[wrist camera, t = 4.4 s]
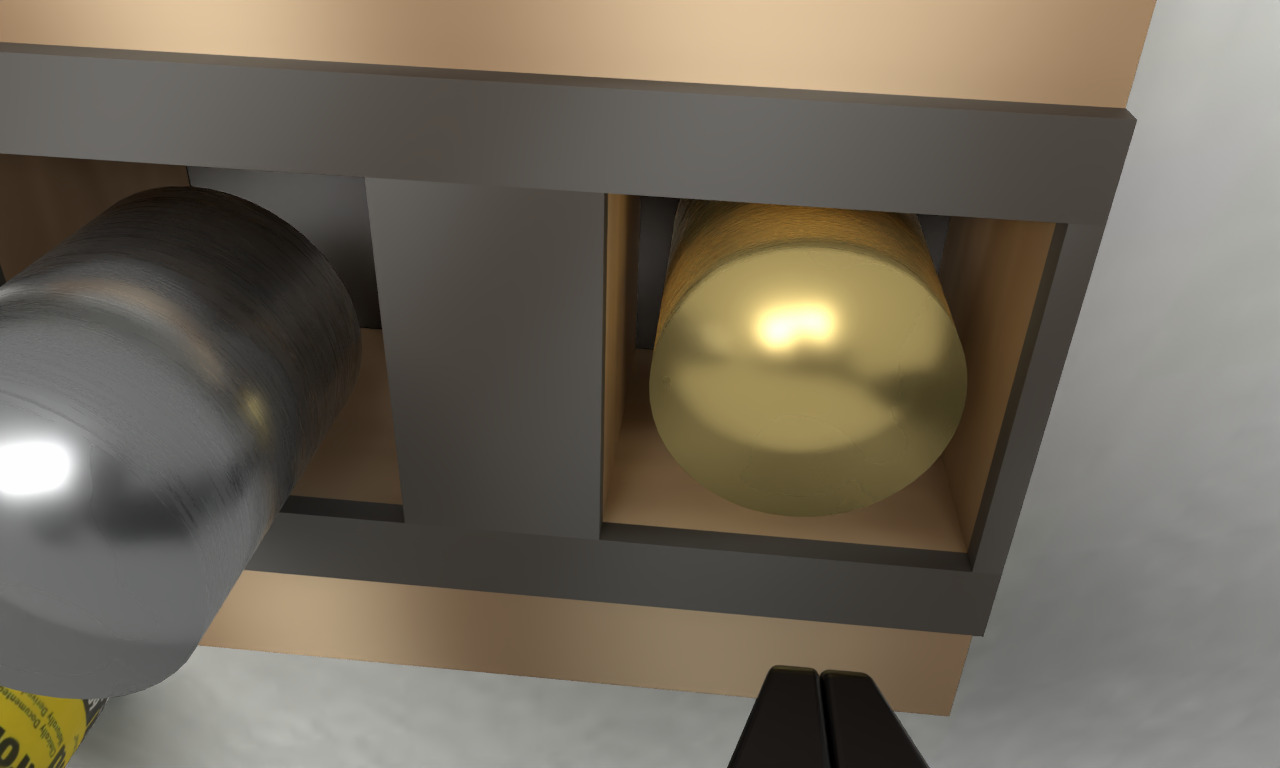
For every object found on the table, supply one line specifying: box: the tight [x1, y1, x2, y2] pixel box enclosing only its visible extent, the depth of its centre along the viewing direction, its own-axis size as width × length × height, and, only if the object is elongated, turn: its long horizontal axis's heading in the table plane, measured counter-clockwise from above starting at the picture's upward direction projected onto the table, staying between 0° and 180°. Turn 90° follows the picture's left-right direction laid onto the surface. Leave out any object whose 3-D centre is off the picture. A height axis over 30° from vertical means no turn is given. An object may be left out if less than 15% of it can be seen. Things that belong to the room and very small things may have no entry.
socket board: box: [0, 0, 1157, 716], centre depth 15 cm, size 14×12×5 cm
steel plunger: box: [0, 186, 362, 699], centre depth 12 cm, size 4×4×5 cm
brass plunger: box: [649, 198, 967, 517], centre depth 15 cm, size 4×4×5 cm
